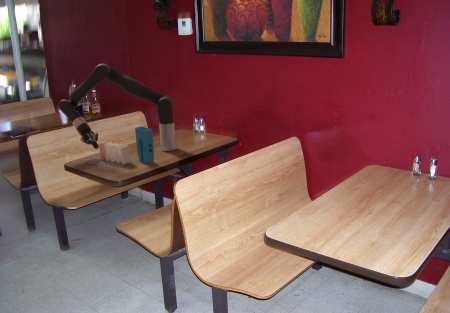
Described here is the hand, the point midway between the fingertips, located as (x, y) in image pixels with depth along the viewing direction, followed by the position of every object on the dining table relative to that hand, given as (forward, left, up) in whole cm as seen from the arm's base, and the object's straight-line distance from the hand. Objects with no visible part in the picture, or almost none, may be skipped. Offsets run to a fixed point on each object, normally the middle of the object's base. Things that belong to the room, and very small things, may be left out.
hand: (97, 148), depth 278 cm
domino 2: (-7, +13, -6) cm, 16 cm away
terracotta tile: (-3, +5, -6) cm, 8 cm away
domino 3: (-10, +17, -6) cm, 20 cm away
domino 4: (-12, +21, -6) cm, 24 cm away
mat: (-4, +14, -6) cm, 16 cm away
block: (-23, +24, -6) cm, 34 cm away
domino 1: (-5, +9, -6) cm, 12 cm away
